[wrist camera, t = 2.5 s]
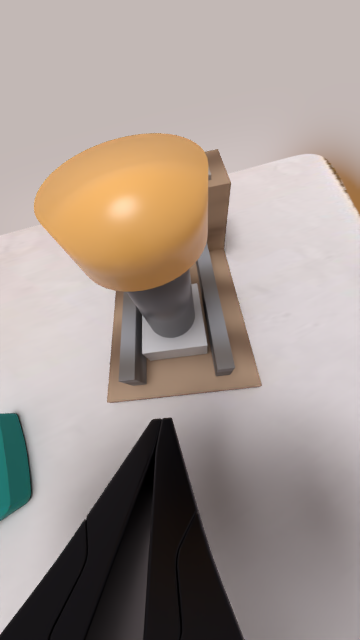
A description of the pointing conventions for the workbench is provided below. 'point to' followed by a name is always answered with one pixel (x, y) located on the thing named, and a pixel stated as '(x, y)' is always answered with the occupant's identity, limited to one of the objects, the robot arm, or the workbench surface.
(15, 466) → the digital multimeter
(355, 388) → the workbench surface
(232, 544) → the workbench surface
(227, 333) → the knob mount
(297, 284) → the workbench surface
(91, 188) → the knob carriage
